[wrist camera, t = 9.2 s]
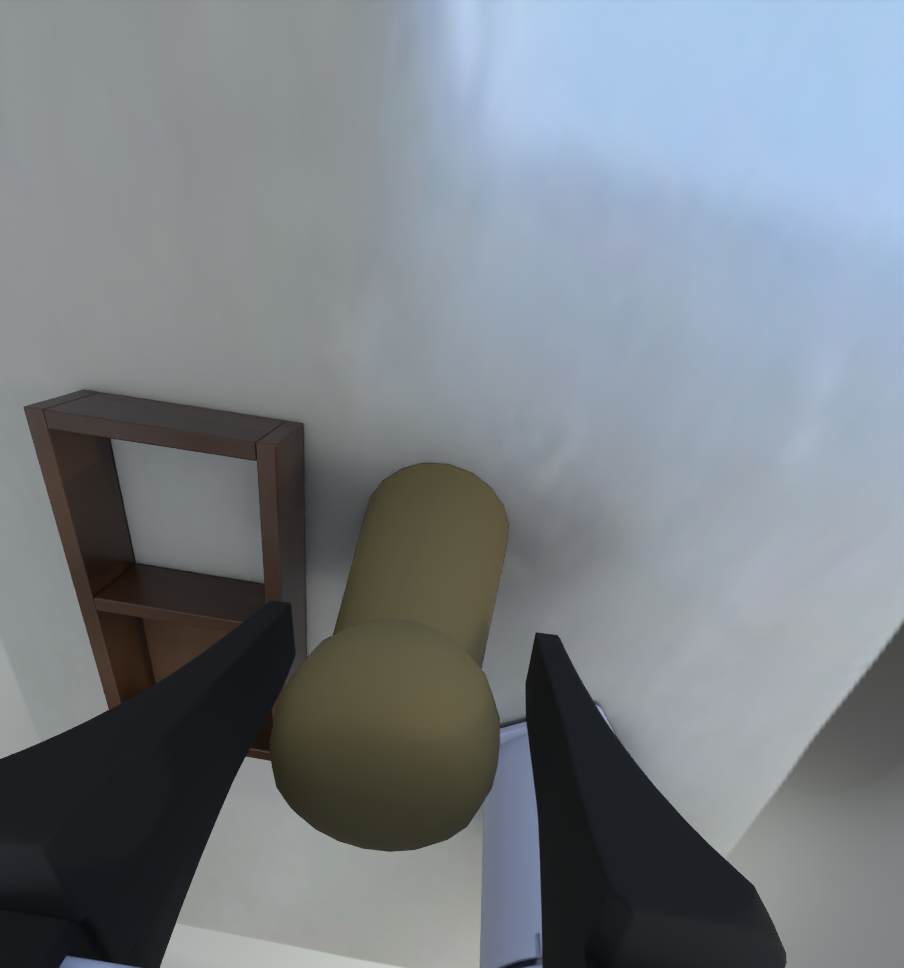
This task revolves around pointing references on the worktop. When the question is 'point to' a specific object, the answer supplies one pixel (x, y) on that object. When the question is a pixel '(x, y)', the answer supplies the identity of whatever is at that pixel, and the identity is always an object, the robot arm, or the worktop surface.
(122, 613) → the caddy
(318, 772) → the cork
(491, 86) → the worktop surface
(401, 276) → the worktop surface
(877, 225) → the worktop surface
